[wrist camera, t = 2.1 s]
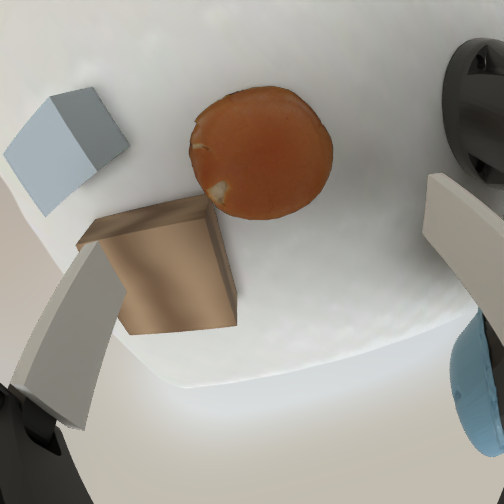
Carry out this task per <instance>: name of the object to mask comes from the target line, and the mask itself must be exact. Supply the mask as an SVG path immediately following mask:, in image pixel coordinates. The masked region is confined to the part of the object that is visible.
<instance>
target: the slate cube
mask: <svg viewBox="0 0 504 504" xmlns="http://www.w3.org/2000/svg"><path fill="white" fill-rule="evenodd" d="M129 146H130V145H129V143H128V142H127V140H126V139H125V137H124V136H123V134H122V133H121V131H120V129H119V128H118V126H117V125H116V123H115V122H114V120H113V119H112V117H111V115H110V114H109V112H108V111H107V109H106V108H105V106H104V104H103V103H102V101H101V100H100V98H99V96H98V95H97V93H96V92H95V90H94V88H93V87H90V88H85V89H80V90H75V91H71V92H66V93H62V94H58V95H54V96H50V97H49V98H48V99H47V100H46V101H45V102H44V103H43V104H42V105H41V107H40V108H39V109H38V110H37V111H36V112H35V113H34V115H33V116H32V117H31V118H30V119H29V121H28V122H27V123H26V124H25V125H24V127H23V128H22V129H21V130H20V132H19V133H18V134H17V136H16V137H15V138H14V140H13V141H12V142H11V144H10V145H9V146H8V148H7V149H6V151H5V152H4V154H3V155H4V157H5V158H6V160H7V162H8V163H9V165H10V167H11V168H12V170H13V171H14V173H15V174H16V176H17V178H18V179H19V181H20V182H21V184H22V185H23V187H24V188H25V190H26V191H27V193H28V194H29V195H30V197H31V198H32V200H33V201H34V203H35V204H36V205H37V207H38V208H39V209H40V211H41V212H42V214H43V215H44V216H45V217H46V216H47V215H48V214H49V213H50V212H52V211H53V210H54V209H55V208H56V207H57V206H58V205H59V204H60V203H61V202H62V201H63V200H64V199H66V198H67V197H68V196H69V195H70V194H71V193H72V192H74V191H75V190H76V189H77V188H78V187H79V186H80V185H82V184H83V183H84V182H85V181H86V180H88V179H89V178H90V177H91V176H93V175H94V174H95V173H96V172H97V171H99V170H100V169H101V168H102V167H104V166H105V165H106V164H107V163H108V162H110V161H111V160H112V159H114V158H115V157H116V156H117V155H119V154H120V153H121V152H123V151H124V150H125V149H126V148H128V147H129Z"/></svg>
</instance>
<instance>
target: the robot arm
mask: <svg viewBox="0 0 504 504" xmlns="http://www.w3.org/2000/svg"><path fill="white" fill-rule="evenodd" d="M443 116H444V124H445V129H446V134H447V138H448V141H449V144H450V147H451V149H452V152H453V154H454V156H455V158H456V159H457V161H458V162H459V164H460V165H461V166H462V168H463V169H464V170H465V171H466V172H467V173H469V174H470V175H471V176H473V177H474V178H476V179H477V180H479V181H480V182H482V183H483V184H485V185H487V186H490V187H492V188H496V189H501V190H504V42H503V41H499V40H495V39H484V38H476V39H472V40H469V41H467V42H465V43H464V44H463V45H462V46H460V47H459V49H458V50H457V51H456V52H455V54H454V55H453V57H452V59H451V61H450V64H449V66H448V69H447V72H446V76H445V81H444V88H443ZM422 234H423V235H424V237H425V238H426V239H427V240H428V241H429V242H430V244H431V245H432V246H433V247H434V248H435V250H436V251H437V252H438V253H439V254H440V256H441V257H442V258H443V259H444V261H445V262H446V263H447V264H448V266H449V267H450V268H451V269H452V271H453V272H454V273H455V275H456V276H457V277H458V278H459V280H460V281H461V283H462V284H463V285H464V287H465V288H466V289H467V291H468V292H469V293H470V295H471V296H472V298H473V299H474V301H475V302H476V303H477V305H478V306H479V308H478V313H477V314H476V315H475V317H474V318H473V319H472V320H471V322H470V323H469V324H468V326H467V327H466V328H465V330H464V331H463V332H462V333H461V334H460V336H459V337H458V338H457V340H456V342H455V344H454V346H453V349H452V353H451V359H450V382H451V389H452V394H453V398H454V401H455V406H456V410H457V413H458V416H459V419H460V422H461V424H462V426H463V429H464V431H465V433H466V435H467V436H468V438H469V440H470V441H471V443H472V444H473V445H474V446H475V448H476V449H477V450H478V451H479V452H481V453H482V454H483V455H485V456H488V457H496V456H498V455H500V454H502V453H504V220H502V219H501V218H500V217H499V216H498V215H497V214H496V213H494V212H493V211H492V210H491V209H490V208H488V207H487V206H486V205H485V204H484V203H482V202H481V201H480V200H479V199H477V198H476V197H475V196H473V195H472V194H471V193H470V192H468V191H467V190H466V189H464V188H463V187H462V186H460V185H459V184H458V183H456V182H455V181H453V180H452V179H451V178H449V177H448V176H446V175H445V174H443V173H434V174H428V180H427V193H426V204H425V213H424V221H423V229H422ZM126 292H127V291H126V289H125V287H124V286H123V284H122V282H121V281H120V279H119V277H118V276H117V274H116V272H115V271H114V269H113V267H112V265H111V263H110V262H109V260H108V258H107V256H106V254H105V253H104V251H103V249H102V247H101V245H100V243H99V241H95V242H92V243H88V244H85V245H84V246H83V247H82V249H81V250H80V252H79V253H78V255H77V256H76V258H75V259H74V261H73V262H72V264H71V265H70V267H69V269H68V270H67V272H66V273H65V275H64V277H63V278H62V280H61V281H60V283H59V285H58V287H57V288H56V290H55V292H54V293H53V295H52V297H51V298H50V300H49V302H48V304H47V306H46V307H45V309H44V311H43V313H42V315H41V317H40V319H39V320H38V322H37V325H36V326H35V328H34V330H33V332H32V334H31V336H30V338H29V340H28V342H27V345H26V347H25V349H24V351H23V353H22V355H21V358H20V360H19V362H18V365H17V367H16V369H15V372H14V374H13V376H12V379H11V381H10V385H9V387H8V389H7V388H6V387H4V386H3V385H2V384H1V383H0V504H94V503H93V501H92V500H91V498H90V496H89V494H88V492H87V490H86V488H85V486H84V484H83V482H82V480H81V478H80V476H79V473H78V471H77V469H76V467H75V465H74V462H73V460H72V458H71V455H70V453H69V450H68V448H67V445H66V442H65V440H64V437H63V434H62V432H61V430H60V428H58V427H57V426H55V425H56V421H57V420H58V421H59V422H61V423H62V424H64V425H65V426H67V427H68V428H72V429H78V430H83V431H84V430H85V426H86V421H87V417H88V413H89V408H90V404H91V401H92V397H93V393H94V389H95V386H96V382H97V378H98V375H99V372H100V368H101V365H102V361H103V358H104V355H105V352H106V349H107V345H108V343H109V339H110V337H111V334H112V331H113V328H114V325H115V322H116V319H117V316H118V314H119V311H120V308H121V305H122V303H123V300H124V297H125V295H126ZM497 504H504V488H503V491H502V493H501V496H500V498H499V501H498V503H497Z"/></svg>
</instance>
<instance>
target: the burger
mask: <svg viewBox="0 0 504 504" xmlns="http://www.w3.org/2000/svg"><path fill="white" fill-rule="evenodd" d="M194 122H196V123H197V124H196V126H195V128H194V130H193V132H192V134H191V138H190V147H189V157H190V159H191V162H192V167H193V170H194V173H195V177H196V179H197V181H198V182H199V184H200V186H201V187H202V189H203V191H204V192H205V194H206V195H207V197H209V198H210V199H211V200H212V202H213V203H214V204H215V206H216V207H217V208H218V209H220V210H221V211H223V212H224V213H226V214H228V215H231V216H234V217H239V218H244V219H248V220H270V219H276V218H280V217H283V216H285V215H288V214H291V213H293V212H296V211H298V210H299V209H301V208H303V207H304V206H306V205H308V204H309V203H310V202H311V201H312V200H314V199H315V198H316V196H317V195H318V194H319V193H320V192H321V190H322V189H323V187H324V185H325V183H326V181H327V179H328V177H329V174H330V172H331V168H332V161H333V144H332V141H331V137H330V135H329V134H328V132H327V130H326V128H325V127H324V125H323V124H321V121H320V119H319V118H318V116H317V115H316V113H315V112H314V111H313V110H312V108H311V107H310V106H309V105H308V104H307V103H306V102H305V101H303V100H302V99H301V98H300V97H299V96H298V95H296V94H295V93H294V92H292V91H290V90H288V89H284V88H280V87H275V86H267V87H253V88H250V89H247V90H242V91H240V92H238V91H237V92H235V93H233V94H229V95H226V96H225V97H224V98H222V99H221V100H218V101H217V102H215V103H214V104H212V105H210V106H209V107H208V108H206V109H205V110H204V111H203V112H202V113H201V114H200V115H199V116H198V117H197V118H196V120H195V121H194Z"/></svg>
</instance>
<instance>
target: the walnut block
mask: <svg viewBox="0 0 504 504" xmlns="http://www.w3.org/2000/svg"><path fill="white" fill-rule="evenodd" d="M95 241H99V243H100V245H101V247H102V249H103V251H104V253H105V254H106V256H107V258H108V260H109V262H110V263H111V265H112V267H113V269H114V271H115V272H116V274H117V276H118V277H119V279H120V281H121V282H122V284H123V286H124V287H125V289H126V291H127V292H126V295H125V297H124V300H123V303H122V305H121V308H120V311H119V314H118V316H117V317H118V319H119V320H120V322H121V323H122V325H123V326H124V328H125V329H126V331H127V332H128V333H129V335H142V334H157V333H171V332H183V331H194V330H204V329H214V328H223V327H231V326H237V292H236V288H235V285H234V281H233V277H232V274H231V270H230V266H229V263H228V259H227V255H226V251H225V248H224V244H223V240H222V236H221V232H220V229H219V225H218V221H217V217H216V213H215V209H214V205H213V202H212V200H211V199H210V198H209V197H207V195H206V194H203V195H198V196H193V197H188V198H183V199H179V200H174V201H169V202H165V203H160V204H156V205H151V206H147V207H143V208H138V209H134V210H130V211H126V212H122V213H118V214H114V215H110V216H106V217H102V218H99V219H95V220H94V222H93V223H92V224H91V225H90V227H89V228H88V229H87V231H86V232H85V233H84V235H83V236H82V237H81V239H80V240H79V241H78V243H77V244H76V247H77V249H78V251H79V252H80V250H81V249H82V247H83V246H84V245H85V244H88V243H92V242H95Z"/></svg>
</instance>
